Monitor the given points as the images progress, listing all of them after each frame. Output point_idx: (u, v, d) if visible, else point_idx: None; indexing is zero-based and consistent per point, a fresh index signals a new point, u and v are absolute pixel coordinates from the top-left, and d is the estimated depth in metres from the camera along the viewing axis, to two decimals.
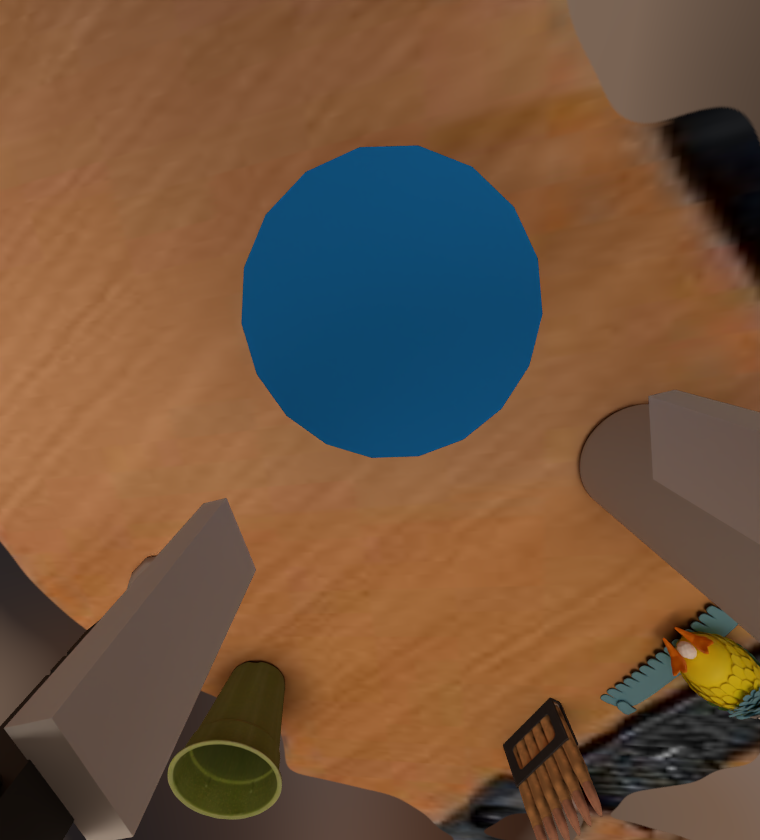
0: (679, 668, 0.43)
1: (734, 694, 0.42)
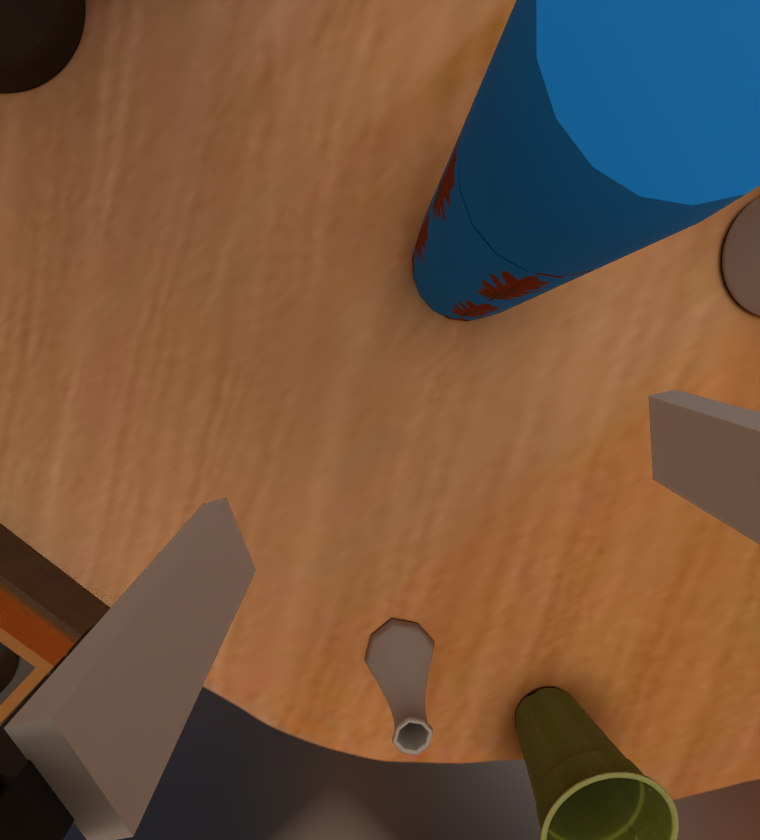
0: None
1: None
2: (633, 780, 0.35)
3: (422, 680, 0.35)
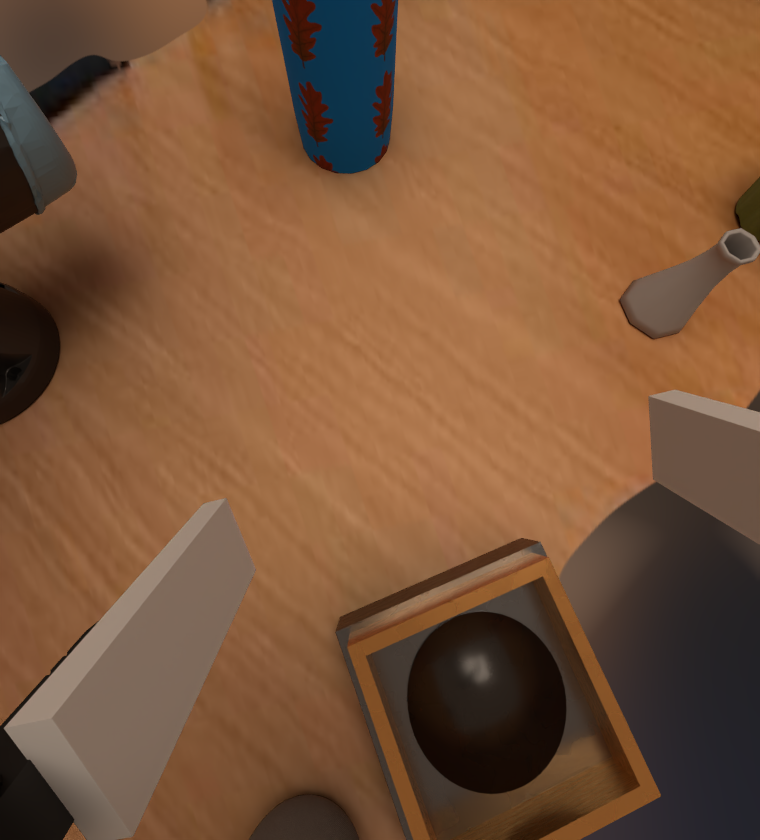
0: None
1: None
2: None
3: None
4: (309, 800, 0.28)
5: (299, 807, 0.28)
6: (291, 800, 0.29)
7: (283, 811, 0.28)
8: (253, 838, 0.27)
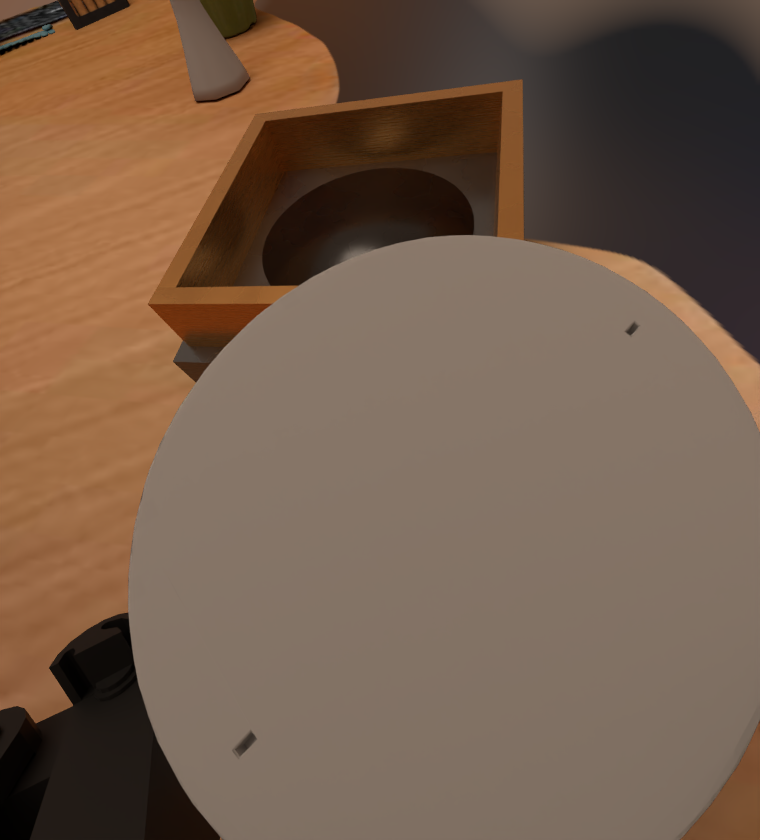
0: None
1: None
2: None
3: None
4: None
5: None
6: None
7: None
8: None
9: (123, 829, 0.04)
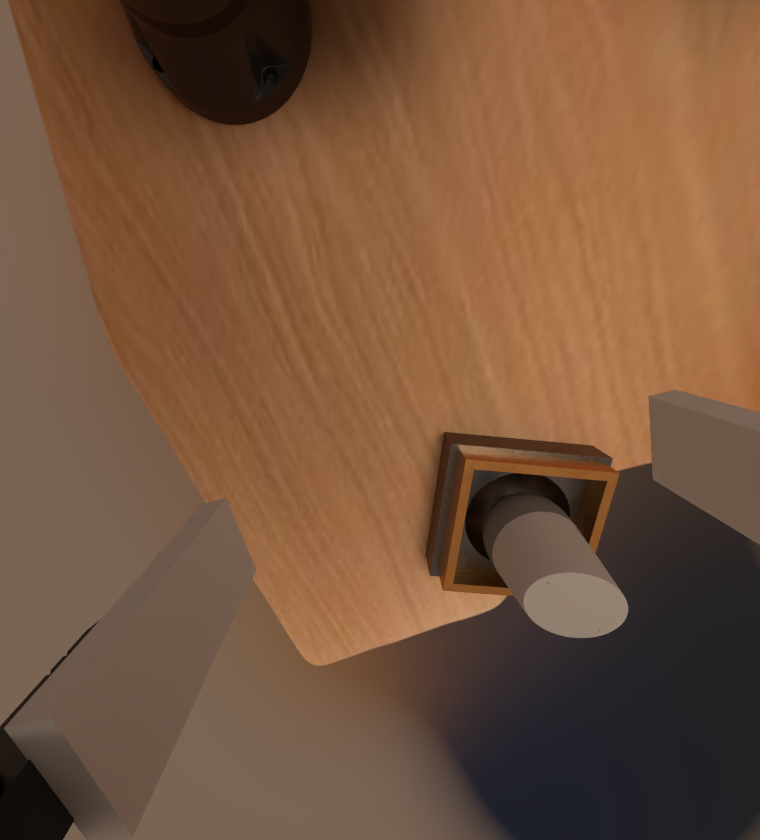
0: None
1: None
2: None
3: None
4: None
5: (550, 501, 0.39)
6: None
7: (540, 498, 0.39)
8: (522, 502, 0.38)
9: None
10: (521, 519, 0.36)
